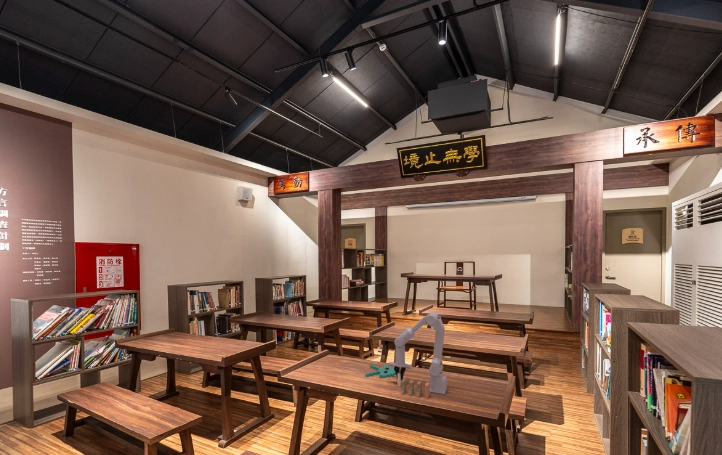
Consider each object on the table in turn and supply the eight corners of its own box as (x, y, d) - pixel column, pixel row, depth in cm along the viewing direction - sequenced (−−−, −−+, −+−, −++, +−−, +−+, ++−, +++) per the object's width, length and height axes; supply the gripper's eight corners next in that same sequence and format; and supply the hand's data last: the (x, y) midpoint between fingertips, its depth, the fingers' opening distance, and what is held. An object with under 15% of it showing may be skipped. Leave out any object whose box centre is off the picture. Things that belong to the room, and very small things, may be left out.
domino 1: (406, 391, 205) (406, 379, 205) (403, 394, 200) (403, 382, 201) (403, 391, 205) (403, 378, 206) (401, 394, 201) (401, 381, 201)
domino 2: (413, 392, 203) (413, 380, 204) (411, 396, 198) (411, 383, 199) (411, 392, 204) (411, 379, 204) (408, 395, 199) (408, 382, 200)
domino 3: (421, 394, 201) (421, 381, 202) (419, 397, 197) (419, 384, 197) (418, 393, 202) (418, 380, 202) (416, 396, 197) (416, 383, 198)
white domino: (402, 383, 218) (402, 371, 218) (400, 385, 213) (400, 373, 214) (399, 382, 219) (399, 371, 219) (397, 385, 214) (397, 373, 214)
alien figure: (365, 377, 228) (396, 380, 224) (365, 374, 228) (396, 376, 224) (370, 367, 248) (399, 369, 244) (370, 364, 248) (399, 366, 244)
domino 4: (429, 395, 200) (429, 382, 200) (427, 398, 195) (427, 385, 196) (426, 394, 200) (426, 382, 201) (424, 398, 196) (424, 385, 196)
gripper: (413, 356, 218) (413, 379, 217) (390, 353, 223) (390, 375, 223) (410, 359, 211) (410, 383, 211) (387, 356, 217) (387, 379, 216)
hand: (400, 379), depth 216 cm, fingers closed on white domino, 1 cm apart
